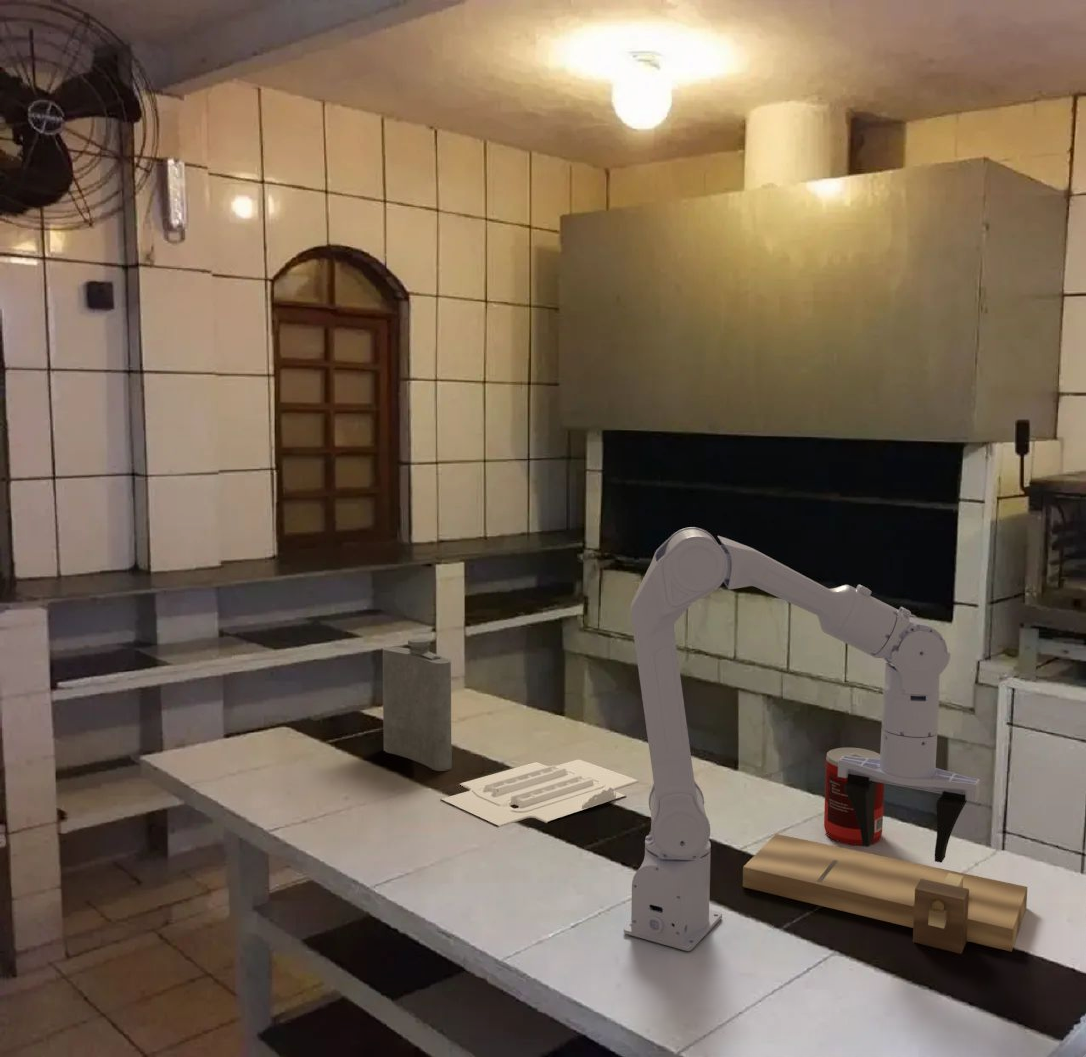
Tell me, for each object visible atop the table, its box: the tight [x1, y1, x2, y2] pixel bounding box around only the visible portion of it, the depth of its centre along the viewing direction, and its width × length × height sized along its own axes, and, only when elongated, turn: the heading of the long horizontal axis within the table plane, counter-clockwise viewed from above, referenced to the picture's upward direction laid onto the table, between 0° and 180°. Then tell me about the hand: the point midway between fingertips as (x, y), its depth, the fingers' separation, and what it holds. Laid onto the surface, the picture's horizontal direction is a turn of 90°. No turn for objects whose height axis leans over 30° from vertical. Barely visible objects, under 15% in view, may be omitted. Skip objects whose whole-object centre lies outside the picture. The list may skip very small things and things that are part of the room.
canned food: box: [823, 747, 885, 846], centre depth 145 cm, size 8×8×11 cm
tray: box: [440, 759, 639, 828], centre depth 162 cm, size 20×28×4 cm
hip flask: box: [381, 637, 452, 772], centre depth 176 cm, size 16×4×20 cm, turn 45°
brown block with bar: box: [912, 873, 969, 955], centre depth 118 cm, size 11×5×6 cm, turn 149°
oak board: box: [742, 833, 1028, 952], centre depth 126 cm, size 12×30×2 cm, turn 59°
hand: (903, 851), depth 117 cm, fingers open, 7 cm apart
